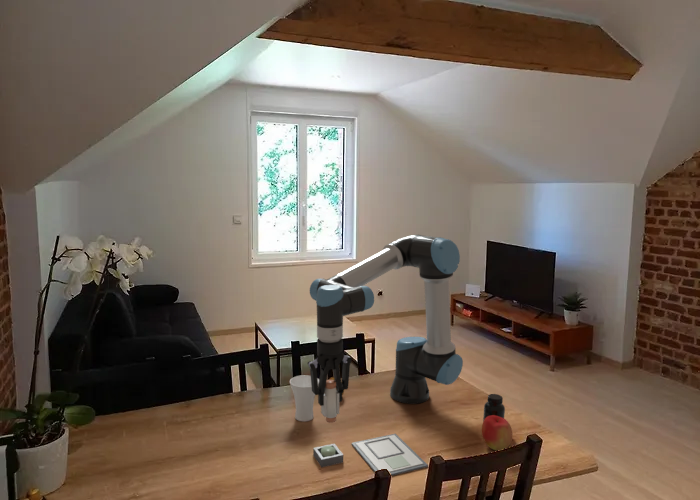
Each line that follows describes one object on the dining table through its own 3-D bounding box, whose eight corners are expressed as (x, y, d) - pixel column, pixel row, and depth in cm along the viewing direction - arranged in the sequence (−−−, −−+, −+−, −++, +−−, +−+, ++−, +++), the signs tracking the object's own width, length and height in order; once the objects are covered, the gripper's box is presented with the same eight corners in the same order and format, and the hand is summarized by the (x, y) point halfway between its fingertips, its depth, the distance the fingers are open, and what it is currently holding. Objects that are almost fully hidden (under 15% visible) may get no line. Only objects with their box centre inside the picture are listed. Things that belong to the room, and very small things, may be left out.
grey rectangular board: (351, 444, 166) (351, 441, 166) (395, 435, 173) (395, 432, 173) (380, 478, 148) (380, 475, 148) (427, 466, 155) (428, 463, 154)
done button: (318, 456, 159) (318, 447, 158) (332, 453, 161) (332, 444, 160) (323, 464, 155) (324, 454, 154) (337, 461, 157) (337, 452, 156)
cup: (324, 414, 186) (324, 378, 184) (309, 427, 177) (310, 389, 175) (299, 408, 191) (299, 373, 189) (283, 420, 181) (283, 383, 179)
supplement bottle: (504, 435, 174) (506, 402, 172) (483, 433, 175) (485, 399, 173) (502, 426, 181) (504, 393, 179) (482, 423, 182) (484, 391, 180)
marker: (324, 418, 157) (323, 380, 155) (335, 417, 158) (335, 379, 156) (326, 423, 153) (325, 384, 152) (337, 422, 154) (337, 383, 153)
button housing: (313, 455, 159) (313, 447, 159) (334, 450, 162) (334, 443, 162) (321, 467, 153) (321, 459, 153) (343, 462, 156) (343, 454, 156)
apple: (478, 452, 163) (480, 422, 162) (482, 438, 172) (484, 409, 171) (510, 459, 160) (512, 428, 158) (512, 444, 169) (515, 415, 167)
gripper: (307, 346, 145) (308, 424, 149) (360, 338, 152) (360, 413, 156) (299, 338, 152) (300, 413, 156) (350, 331, 158) (350, 402, 162)
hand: (330, 413), depth 156 cm, fingers closed on marker, 3 cm apart
